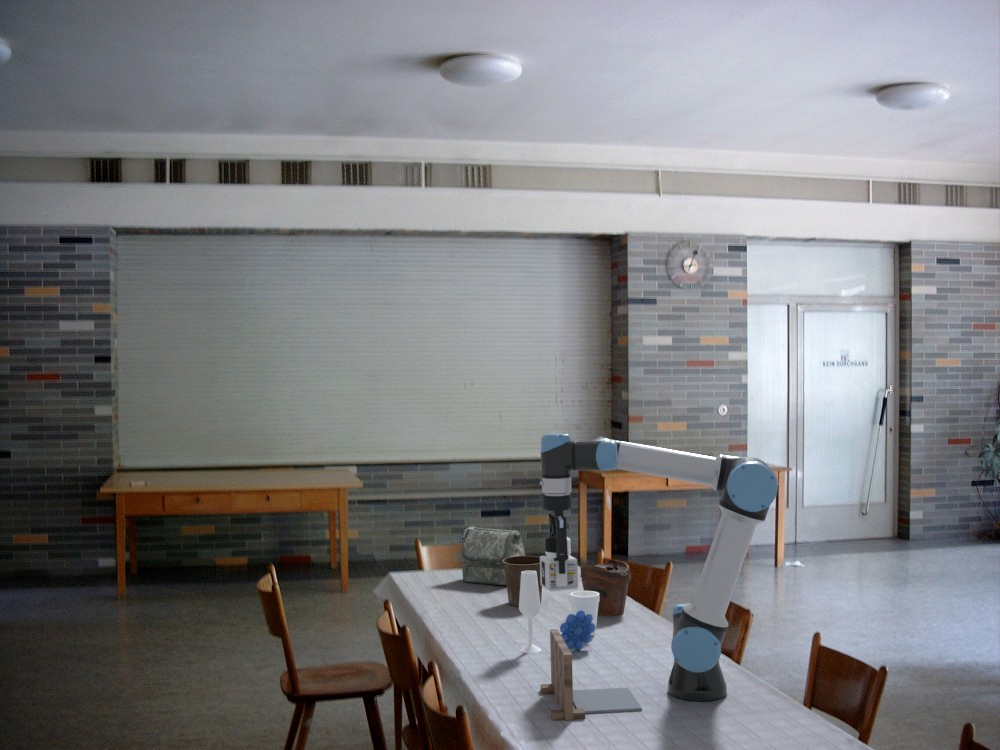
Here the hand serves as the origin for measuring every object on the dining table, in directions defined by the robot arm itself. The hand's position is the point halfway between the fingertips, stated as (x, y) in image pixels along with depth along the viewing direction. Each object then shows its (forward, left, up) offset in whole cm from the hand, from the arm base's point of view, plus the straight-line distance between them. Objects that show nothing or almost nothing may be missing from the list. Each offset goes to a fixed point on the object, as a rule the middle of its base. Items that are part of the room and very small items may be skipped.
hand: (559, 582), depth 250 cm
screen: (0, 0, -31) cm, 31 cm away
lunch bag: (+119, -93, -32) cm, 154 cm away
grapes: (+29, -40, -31) cm, 59 cm away
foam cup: (+38, -55, -31) cm, 74 cm away
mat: (-7, -8, -31) cm, 33 cm away
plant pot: (+82, -73, -31) cm, 114 cm away
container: (0, 0, -2) cm, 2 cm away
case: (+51, -82, -31) cm, 102 cm away
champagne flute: (+39, -30, -31) cm, 58 cm away
